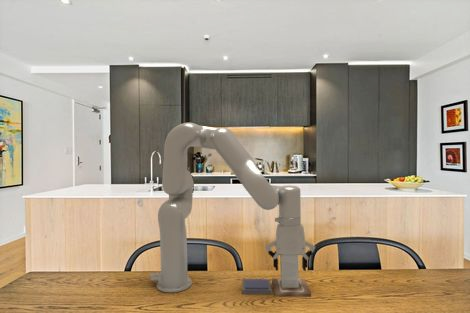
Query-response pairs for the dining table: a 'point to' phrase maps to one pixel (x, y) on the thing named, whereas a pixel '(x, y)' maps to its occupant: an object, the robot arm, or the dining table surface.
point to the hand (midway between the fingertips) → (290, 269)
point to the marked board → (291, 289)
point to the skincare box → (289, 271)
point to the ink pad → (256, 286)
